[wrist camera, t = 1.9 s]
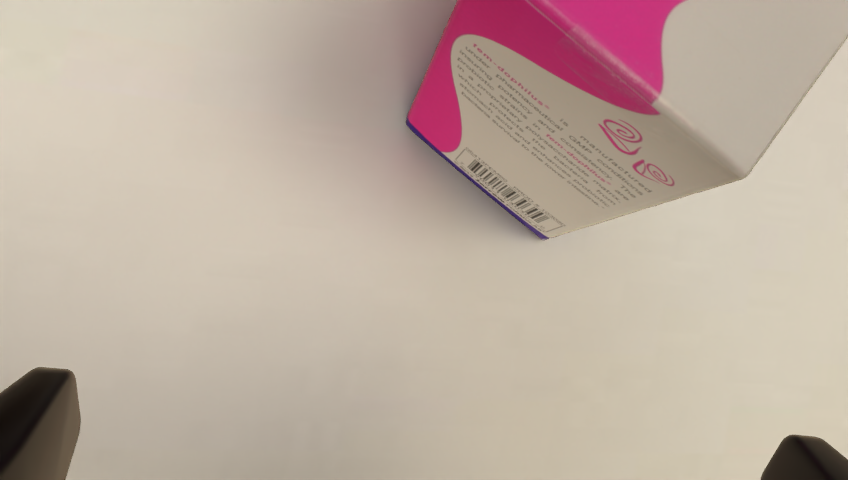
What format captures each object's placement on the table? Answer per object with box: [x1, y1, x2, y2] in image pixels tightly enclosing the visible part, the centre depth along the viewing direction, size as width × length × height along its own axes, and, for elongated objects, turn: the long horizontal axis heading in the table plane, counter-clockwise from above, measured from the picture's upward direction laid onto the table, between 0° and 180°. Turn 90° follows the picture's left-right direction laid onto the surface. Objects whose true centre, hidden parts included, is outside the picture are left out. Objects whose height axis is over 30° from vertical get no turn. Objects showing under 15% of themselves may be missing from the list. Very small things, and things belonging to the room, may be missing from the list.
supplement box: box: [406, 0, 848, 240], centre depth 18 cm, size 6×6×12 cm
